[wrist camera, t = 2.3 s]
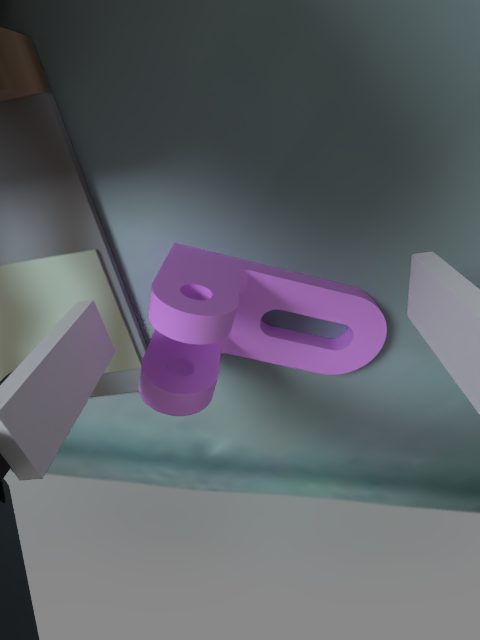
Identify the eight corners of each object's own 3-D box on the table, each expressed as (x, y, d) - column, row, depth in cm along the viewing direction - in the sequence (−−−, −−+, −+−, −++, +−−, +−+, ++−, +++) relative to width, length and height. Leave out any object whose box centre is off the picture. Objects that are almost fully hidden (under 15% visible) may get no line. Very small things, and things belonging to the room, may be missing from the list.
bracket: (161, 326, 22) (128, 407, 16) (174, 242, 19) (141, 302, 13) (356, 368, 23) (393, 457, 17) (395, 296, 21) (455, 373, 15)
